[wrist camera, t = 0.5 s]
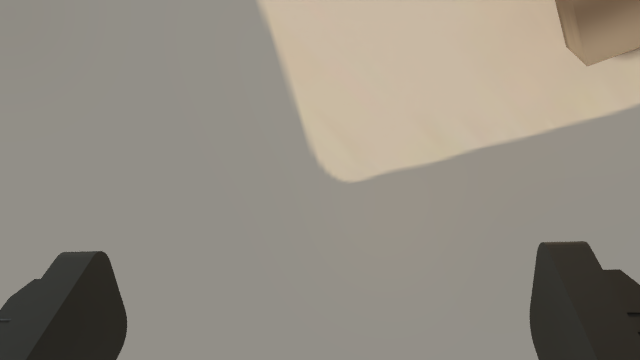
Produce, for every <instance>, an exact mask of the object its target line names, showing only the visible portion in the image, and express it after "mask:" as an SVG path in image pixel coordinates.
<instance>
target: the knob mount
mask: <svg viewBox="0 0 640 360" xmlns="http://www.w3.org/2000/svg"><path fill="white" fill-rule="evenodd" d="M555 2H556V6H557V10H558V14H559V18H560V22H561V27H562V31H563V35H564V39H565V43H566V47H567V48H568V49H569V50H570V51H571V52H573V53H574V54H575V55H576V56H577V57H578V58H579V59H580V60H581V61H582V62H583V63H584V64H585V65H586V66H589V65H592V64H595V63H598V62H600V61H603V60H606V59H609V58H612V57H614V56H617V55H620V54H623V53H626V52H628V51H631V50H634V49H637V48H639V47H640V0H555Z"/></svg>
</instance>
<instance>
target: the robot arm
mask: <svg viewBox="0 0 640 360" xmlns="http://www.w3.org/2000/svg"><path fill="white" fill-rule="evenodd" d="M530 328H531V335H532V339H533V343H534V346H535V349H536V353H537V356H538V359H539V360H640V285H639V284H638V283H636V282H635V281H634V280H633V279H631V278H630V277H629V276H628V275H626V274H625V273H624V272H622V271H621V270H603V269H602V268H601V266H600V264H599V262H598V260H597V259H596V257H595V255H594V253H593V251H592V249H591V248H590V246H589V245H588V243H587V242H583V241H580V242H542V243H540V245H539V247H538V251H537V257H536V265H535V273H534V281H533V288H532V296H531V304H530ZM126 332H127V316H126V312H125V308H124V305H123V301H122V298H121V295H120V292H119V289H118V285H117V282H116V279H115V276H114V272H113V269H112V266H111V263H110V260H109V258H108V256H107V254H106V253H104V252H102V251H93V252H63V253H61V254H60V255H58V257H57V258H56V259H55V260H54V262H53V263H52V264H51V266H50V268H49V269H48V270H47V271H46V273H45V274H44V275H43V277H42V278H41V279H34V280H33V281H31V282H30V283H29V284H27V285H26V286H25V287H23V288H22V289H21V290H19V291H18V292H17V293H15V294H14V295H13V296H11V297H10V298H9V299H8V300H7V302H6V303H5V304H4V306H3V307H2V308H1V310H0V360H116V359H117V357H118V355H119V353H120V351H121V349H122V347H123V344H124V341H125V337H126Z"/></svg>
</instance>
